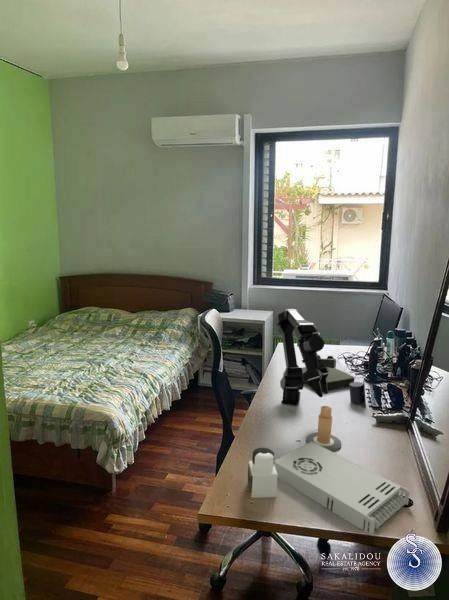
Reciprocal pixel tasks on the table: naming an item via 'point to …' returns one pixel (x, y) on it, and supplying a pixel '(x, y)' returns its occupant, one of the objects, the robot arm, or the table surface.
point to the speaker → (357, 393)
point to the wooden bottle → (324, 425)
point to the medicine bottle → (262, 474)
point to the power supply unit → (341, 485)
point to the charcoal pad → (331, 446)
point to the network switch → (336, 378)
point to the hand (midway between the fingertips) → (324, 395)
